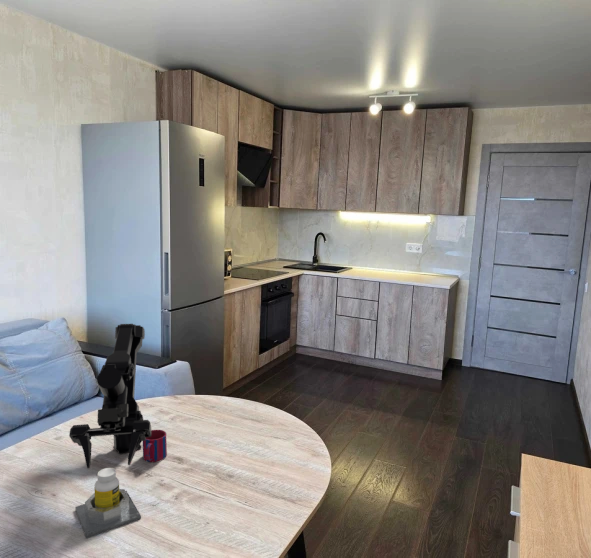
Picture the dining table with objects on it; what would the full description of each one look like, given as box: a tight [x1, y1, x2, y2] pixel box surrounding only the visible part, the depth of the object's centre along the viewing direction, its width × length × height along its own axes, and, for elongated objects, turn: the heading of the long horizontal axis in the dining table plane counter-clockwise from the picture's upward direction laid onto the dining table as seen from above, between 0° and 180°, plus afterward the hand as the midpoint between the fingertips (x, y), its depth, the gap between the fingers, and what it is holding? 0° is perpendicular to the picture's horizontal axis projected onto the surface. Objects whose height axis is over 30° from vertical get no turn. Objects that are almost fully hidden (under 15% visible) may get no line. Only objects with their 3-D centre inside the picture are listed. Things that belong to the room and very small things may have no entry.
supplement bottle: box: [94, 467, 120, 509], centre depth 110 cm, size 5×5×10 cm
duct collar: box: [74, 488, 142, 539], centre depth 110 cm, size 12×12×4 cm
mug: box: [142, 429, 168, 463], centre depth 135 cm, size 7×10×7 cm
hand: (108, 466), depth 112 cm, fingers open, 9 cm apart
